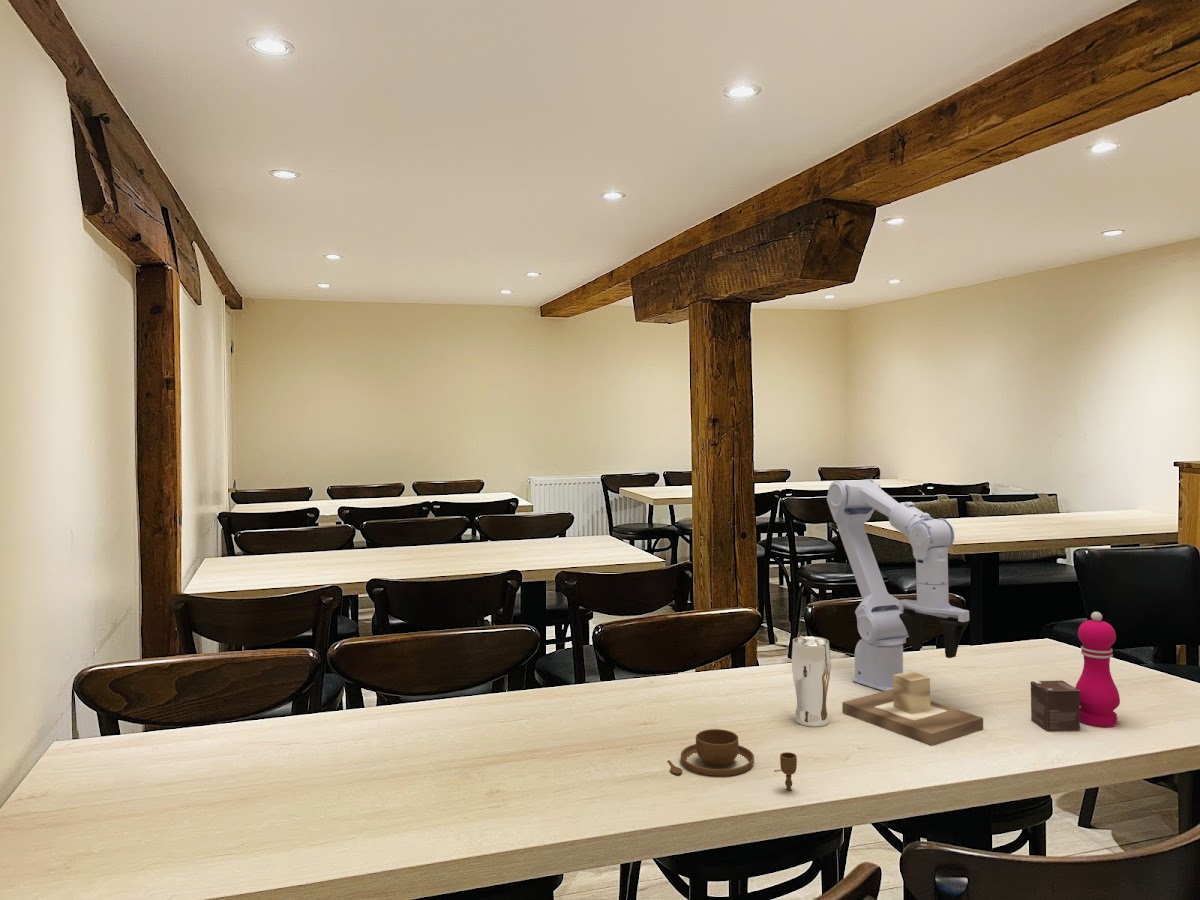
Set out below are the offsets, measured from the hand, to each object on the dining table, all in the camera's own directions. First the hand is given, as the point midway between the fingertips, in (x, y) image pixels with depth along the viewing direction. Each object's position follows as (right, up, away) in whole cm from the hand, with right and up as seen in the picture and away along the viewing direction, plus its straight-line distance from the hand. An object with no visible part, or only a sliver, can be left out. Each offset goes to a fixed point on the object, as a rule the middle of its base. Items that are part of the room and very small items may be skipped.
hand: (933, 653), depth 165 cm
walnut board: (-7, -11, -7) cm, 15 cm away
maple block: (-7, -9, -7) cm, 13 cm away
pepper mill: (+26, -10, -9) cm, 29 cm away
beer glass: (-25, -11, -6) cm, 28 cm away
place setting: (-44, -13, -28) cm, 54 cm away
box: (+18, -11, -11) cm, 23 cm away
